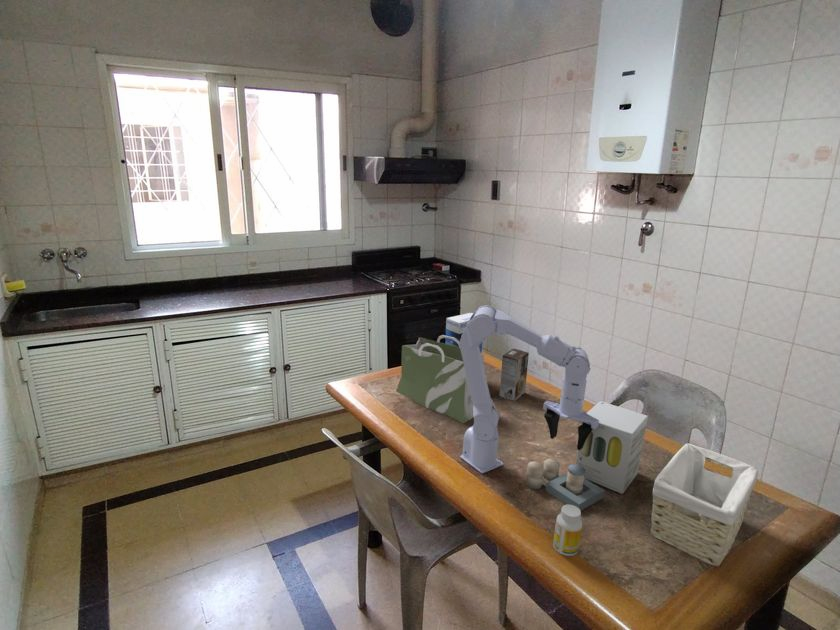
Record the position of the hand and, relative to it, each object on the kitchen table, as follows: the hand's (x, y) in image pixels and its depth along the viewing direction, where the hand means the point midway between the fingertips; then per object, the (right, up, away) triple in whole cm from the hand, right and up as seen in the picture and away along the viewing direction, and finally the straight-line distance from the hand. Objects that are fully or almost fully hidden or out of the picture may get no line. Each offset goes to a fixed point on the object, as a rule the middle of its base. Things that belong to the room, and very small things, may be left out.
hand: (566, 442), depth 130 cm
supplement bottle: (-7, -17, -23) cm, 29 cm away
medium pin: (-9, -10, -1) cm, 14 cm away
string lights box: (-22, +8, +61) cm, 65 cm away
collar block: (0, -12, -5) cm, 13 cm away
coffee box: (-5, +4, +50) cm, 51 cm away
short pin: (-4, -10, +2) cm, 11 cm away
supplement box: (+12, -10, +4) cm, 16 cm away
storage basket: (+25, -16, -15) cm, 34 cm away
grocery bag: (-32, +3, +43) cm, 54 cm away
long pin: (0, -12, -5) cm, 13 cm away
